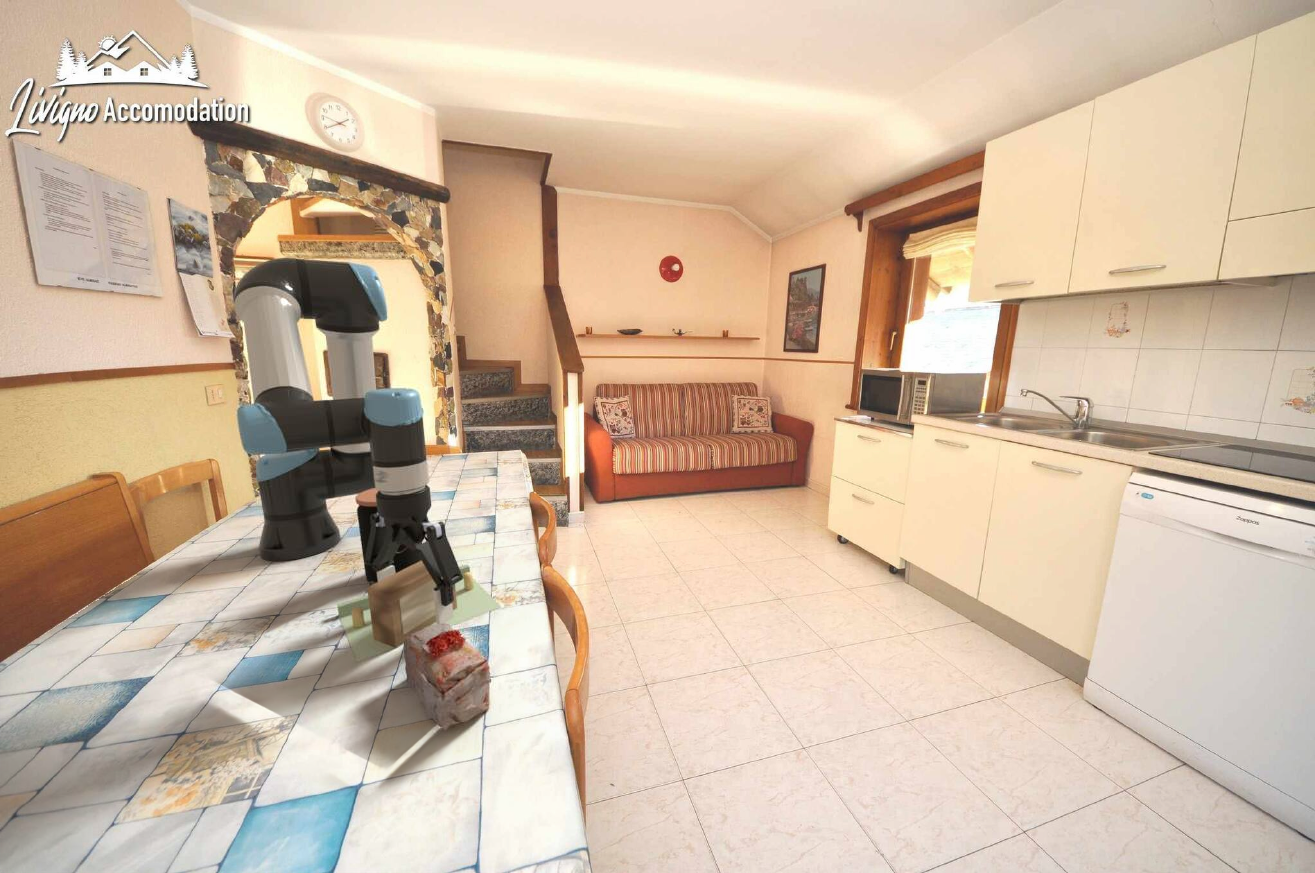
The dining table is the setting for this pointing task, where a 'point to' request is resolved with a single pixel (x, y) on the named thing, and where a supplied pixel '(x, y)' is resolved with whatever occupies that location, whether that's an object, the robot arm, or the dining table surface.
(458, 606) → the ledge board
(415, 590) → the brown box-like piece
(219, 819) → the dining table surface
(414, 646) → the food item
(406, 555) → the coffee jar
